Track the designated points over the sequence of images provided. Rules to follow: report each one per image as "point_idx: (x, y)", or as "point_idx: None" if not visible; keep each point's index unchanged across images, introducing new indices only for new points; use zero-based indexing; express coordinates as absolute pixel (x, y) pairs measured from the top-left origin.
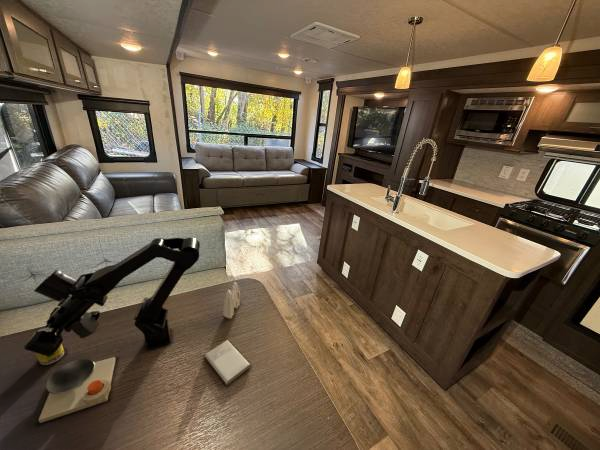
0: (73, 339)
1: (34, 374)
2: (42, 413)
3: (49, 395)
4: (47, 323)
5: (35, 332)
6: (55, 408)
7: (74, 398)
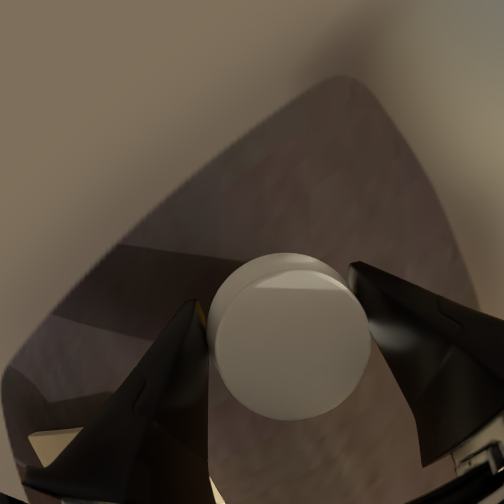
0: None
1: (179, 302)
2: (40, 439)
3: None
4: (414, 316)
5: (301, 272)
6: None
7: None
